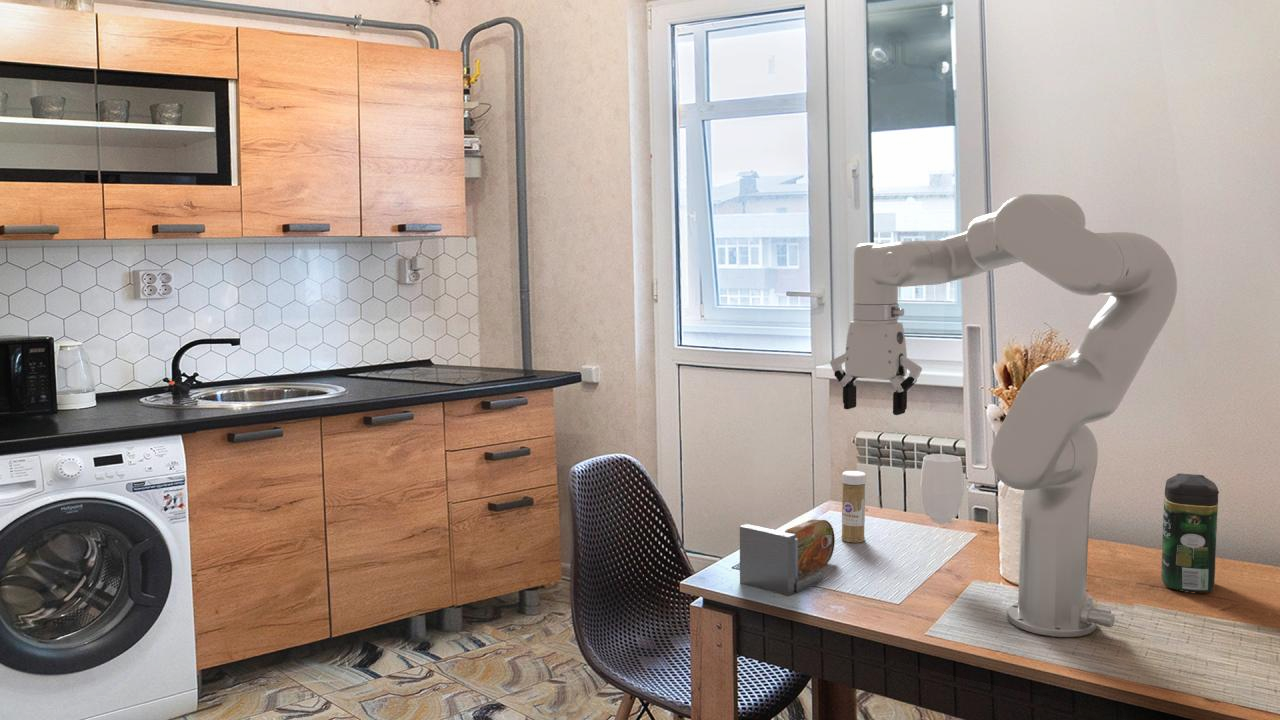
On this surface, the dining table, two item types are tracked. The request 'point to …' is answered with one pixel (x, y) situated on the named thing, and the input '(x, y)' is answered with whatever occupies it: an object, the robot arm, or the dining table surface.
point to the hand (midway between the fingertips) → (874, 411)
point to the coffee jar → (1189, 533)
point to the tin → (813, 544)
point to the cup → (941, 486)
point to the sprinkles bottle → (853, 506)
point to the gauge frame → (771, 561)
